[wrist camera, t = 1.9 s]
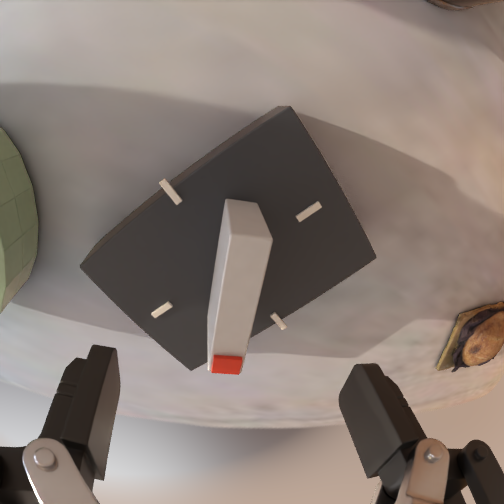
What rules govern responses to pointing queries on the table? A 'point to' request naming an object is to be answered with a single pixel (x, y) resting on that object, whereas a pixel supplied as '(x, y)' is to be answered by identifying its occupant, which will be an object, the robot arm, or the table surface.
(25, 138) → the table surface
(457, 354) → the open sandwich
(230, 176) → the rotary switch dial
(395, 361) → the table surface
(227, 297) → the red tipped lever
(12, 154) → the basin
